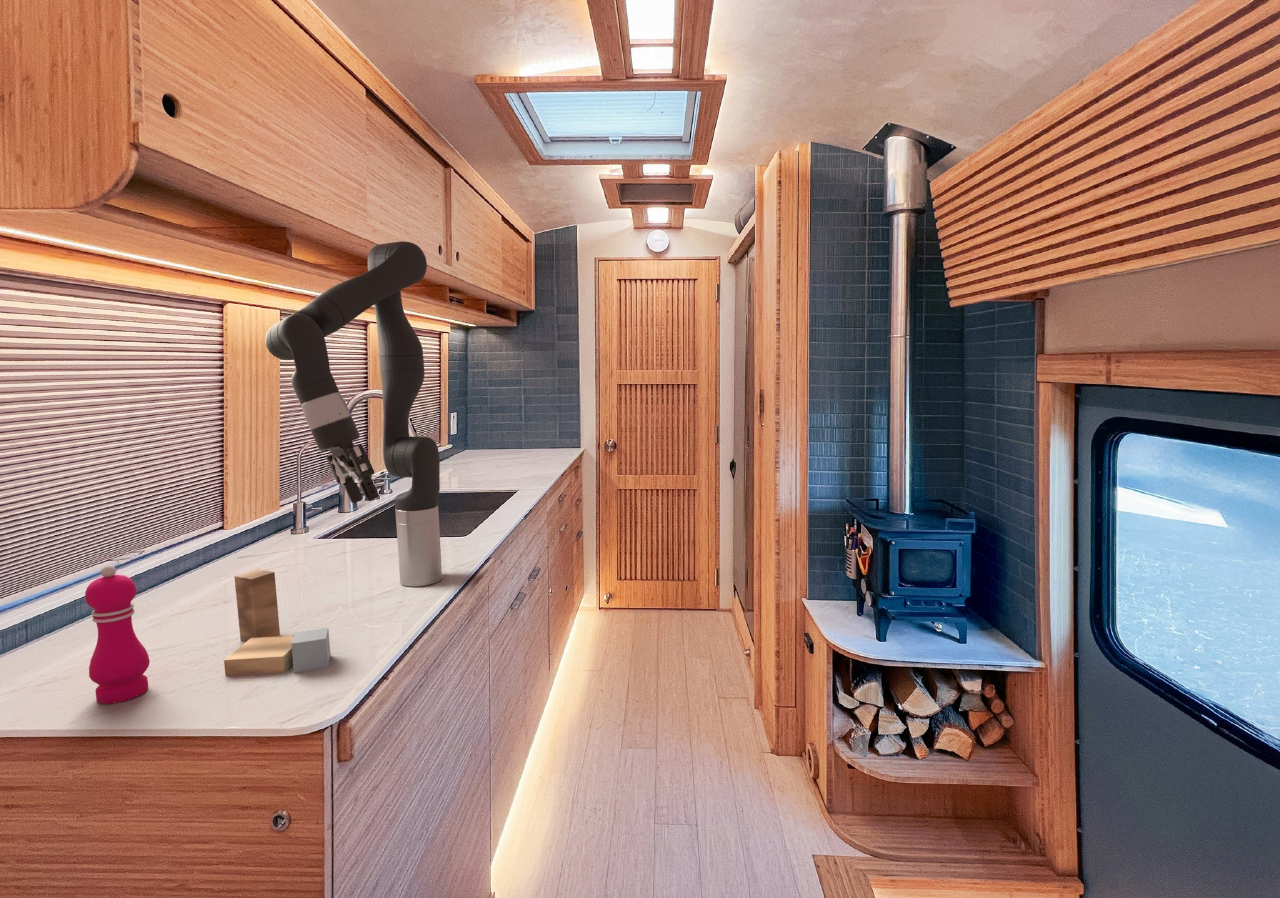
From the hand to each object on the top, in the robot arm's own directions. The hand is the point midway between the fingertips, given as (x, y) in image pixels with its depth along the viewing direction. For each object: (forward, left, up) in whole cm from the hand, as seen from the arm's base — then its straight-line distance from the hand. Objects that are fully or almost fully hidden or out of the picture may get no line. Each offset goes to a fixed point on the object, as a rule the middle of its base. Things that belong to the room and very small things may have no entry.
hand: (365, 500), depth 128 cm
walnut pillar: (+7, -18, -23) cm, 30 cm away
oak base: (+18, -12, -24) cm, 32 cm away
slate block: (+20, -4, -23) cm, 31 cm away
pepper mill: (+27, -29, -24) cm, 46 cm away
